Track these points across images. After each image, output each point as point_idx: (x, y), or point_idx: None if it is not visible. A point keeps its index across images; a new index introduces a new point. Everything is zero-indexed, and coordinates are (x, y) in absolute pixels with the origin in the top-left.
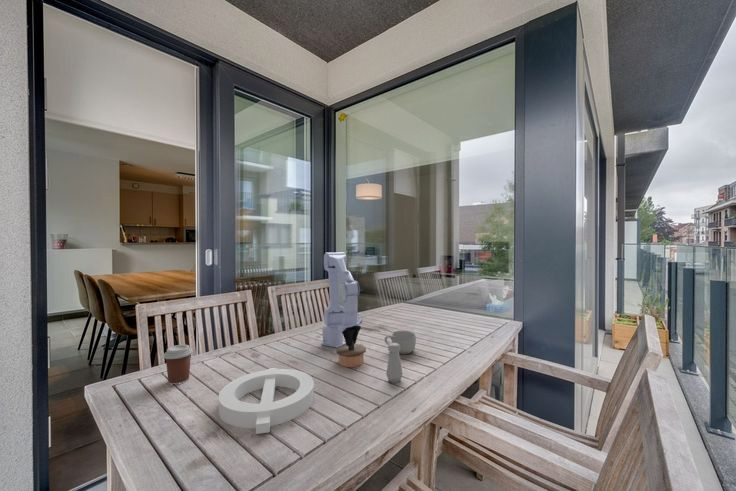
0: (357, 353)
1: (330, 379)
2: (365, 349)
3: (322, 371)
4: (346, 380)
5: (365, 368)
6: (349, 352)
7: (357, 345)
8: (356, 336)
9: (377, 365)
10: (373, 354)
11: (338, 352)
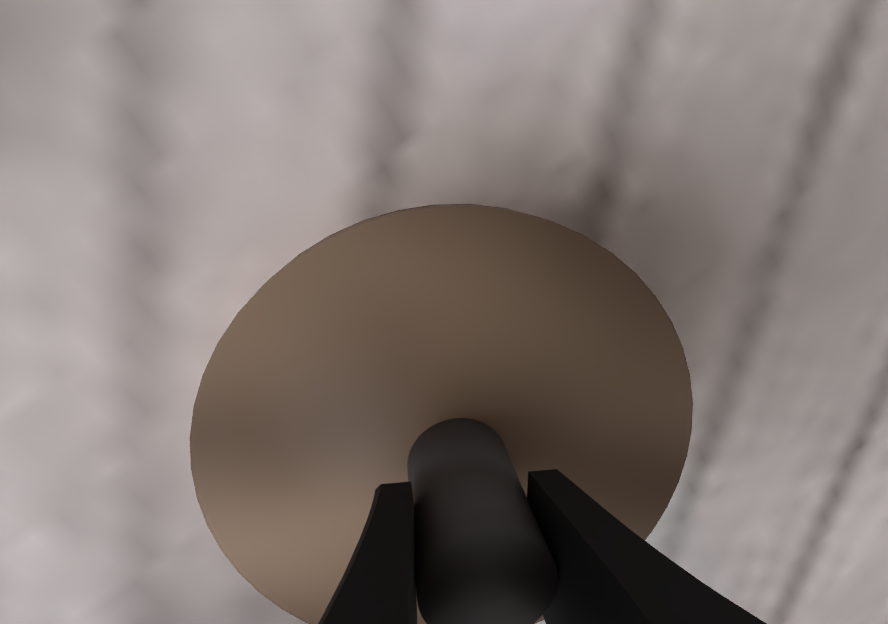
0: (596, 246)
1: (880, 277)
2: (349, 233)
3: (753, 445)
4: (862, 123)
5: (510, 115)
6: (616, 384)
7: (251, 484)
8: (384, 604)
9: (341, 16)
10: (41, 291)
11: (654, 516)
